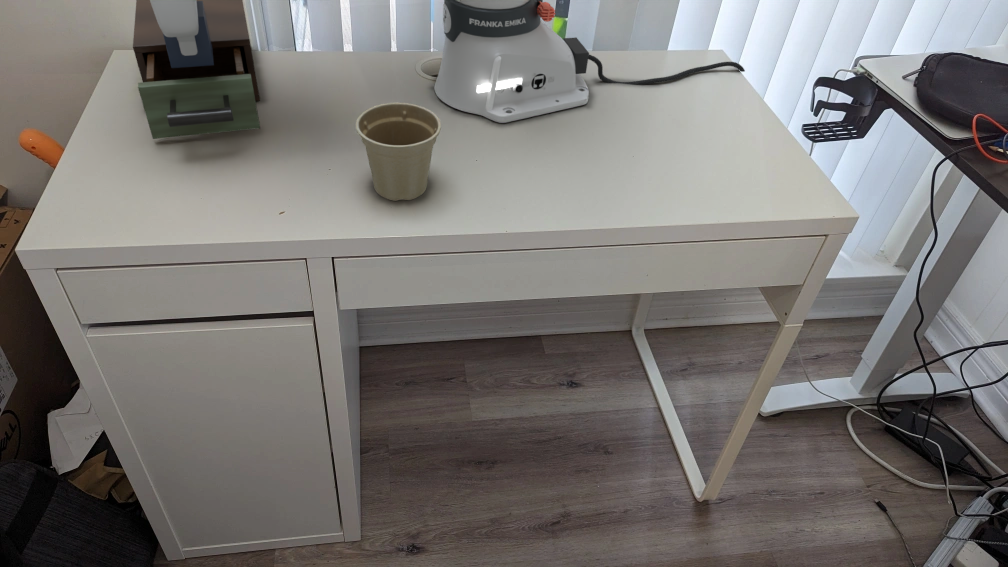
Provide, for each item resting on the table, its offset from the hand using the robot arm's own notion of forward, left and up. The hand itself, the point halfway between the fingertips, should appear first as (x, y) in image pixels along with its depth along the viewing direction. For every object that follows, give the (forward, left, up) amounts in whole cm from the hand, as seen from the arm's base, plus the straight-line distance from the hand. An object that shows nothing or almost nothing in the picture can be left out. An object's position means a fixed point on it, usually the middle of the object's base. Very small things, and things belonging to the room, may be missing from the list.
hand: (189, 41), depth 87 cm
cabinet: (0, -12, -11) cm, 16 cm away
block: (0, 0, -2) cm, 2 cm away
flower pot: (-21, +20, -11) cm, 31 cm away
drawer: (0, 0, -10) cm, 10 cm away
